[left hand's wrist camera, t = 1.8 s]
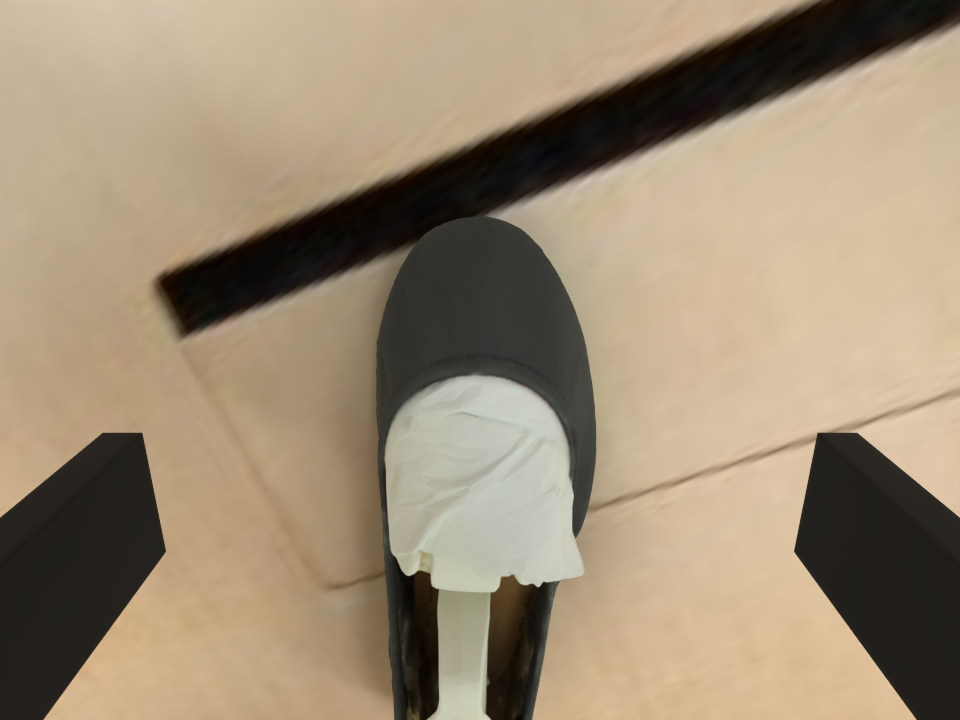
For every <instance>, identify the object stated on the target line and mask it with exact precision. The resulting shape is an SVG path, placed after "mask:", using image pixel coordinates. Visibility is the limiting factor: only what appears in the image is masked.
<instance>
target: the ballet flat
mask: <svg viewBox="0 0 960 720" xmlns="http://www.w3.org/2000/svg"><path fill="white" fill-rule="evenodd" d="M376 374H377V425H378V433H379V442H378V474H379V485H380V495H381V506H382V520H383V541H384V560H385V574H386V584H387V600H388V617H389V632H390V635H389V657H390V664H391V668H392V688H393V697H394V720H532V717H533V711H534V706H535V701H536V696H537V691H538V686H539V681H540V675H541V669H542V664H543V659H544V653H545V645H546V640H547V633H548V627H549V621H550V615H551V609H552V605H553V600H554V596H555V591H556V587H557V585H558V583H559V582H560V580H563V579H570V578H576V577H579V576H582V575H583V574H584V572H585V569H584V566H583V561H582V558H581V555H580V552H579V550H578V547H577V544H576V540H575V539H576V537H577V535H578V533H579V532H580V530H581V527H582V525H583V522H584V519H585V515H586V512H587V508H588V504H589V500H590V495H591V490H592V483H593V477H594V469H595V460H596V421H595V404H594V397H593V387H592V380H591V374H590V368H589V362H588V356H587V350H586V345H585V340H584V336H583V333H582V330H581V326H580V324H579V321H578V318H577V315H576V312H575V309H574V307H573V304H572V302H571V300H570V297H569V295H568V293H567V291H566V289H565V287H564V285H563V283H562V281H561V279H560V277H559V276H558V274H557V272H556V270H555V269H554V267H553V266H552V264H551V262H550V261H549V260H548V258H547V257H546V256H545V254H544V252H543V251H542V249H541V248H540V247H539V246H538V245H537V244H536V243H535V242H534V241H533V240H532V238H531V237H530V236H528V235H527V234H526V233H525V232H524V231H523V230H521V229H520V228H518V227H516V226H514V225H512V224H510V223H508V222H505V221H502V220H499V219H495V218H490V217H478V216H477V217H467V218H460V219H457V220H454V221H450V222H446V223H444V224H442V225H440V226H437V227H435V228H434V229H432V230H431V231H429V232H428V233H426V234H425V235H424V236H423V237H422V238H421V239H420V240H419V241H418V242H417V244H416V245H415V246H414V248H413V249H412V250H411V252H410V253H409V255H408V257H407V259H406V260H405V262H404V263H403V265H402V267H401V269H400V271H399V273H398V275H397V277H396V279H395V282H394V285H393V287H392V289H391V292H390V295H389V298H388V301H387V304H386V308H385V311H384V315H383V319H382V322H381V326H380V332H379V338H378V341H377V371H376Z"/></svg>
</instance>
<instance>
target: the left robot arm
mask: <svg viewBox="0 0 960 720" xmlns="http://www.w3.org/2000/svg"><path fill="white" fill-rule="evenodd" d="M165 552H166V549H165V544H164V539H163V534H162V529H161V524H160V519H159V514H158V509H157V504H156V499H155V494H154V489H153V484H152V479H151V474H150V469H149V464H148V459H147V454H146V449H145V444H144V439H143V434H142V433H102V434H101V435H100V436H98V437H97V438H96V439H95V440H94V441H92V442H91V443H90V444H89V445H88V446H86V447H85V448H84V449H83V450H82V451H80V452H79V453H78V454H77V455H76V456H74V457H73V458H72V459H71V460H69V461H68V462H67V463H66V464H65V465H63V466H62V467H61V468H60V469H59V470H57V471H56V472H55V473H54V474H53V475H51V476H50V477H49V478H48V479H46V480H45V481H44V482H43V483H42V484H40V485H39V486H38V487H37V488H36V489H34V490H33V491H32V492H31V493H30V494H28V495H27V496H26V497H25V498H24V499H22V500H21V501H20V502H19V503H17V504H16V505H15V506H14V507H13V508H11V509H10V510H9V511H8V512H7V513H5V514H4V515H3V516H2V517H1V518H0V720H43V719H44V718H45V717H46V715H47V714H48V713H49V711H50V710H51V708H52V707H53V706H54V704H55V703H56V702H57V700H58V699H59V698H60V696H61V695H62V693H63V692H64V691H65V689H66V688H67V687H68V685H69V684H70V682H71V681H72V680H73V678H74V677H75V676H76V674H77V673H78V671H79V670H80V669H81V667H82V666H83V665H84V663H85V662H86V661H87V659H88V658H89V656H90V655H91V654H92V652H93V651H94V650H95V648H96V647H97V645H98V644H99V643H100V641H101V640H102V639H103V637H104V636H105V634H106V633H107V632H108V630H109V629H110V628H111V626H112V625H113V623H114V622H115V621H116V619H117V618H118V617H119V615H120V614H121V613H122V611H123V610H124V608H125V607H126V606H127V604H128V603H129V602H130V600H131V599H132V597H133V596H134V595H135V593H136V592H137V591H138V589H139V588H140V586H141V585H142V584H143V582H144V581H145V580H146V578H147V577H148V576H149V574H150V573H151V571H152V570H153V569H154V567H155V566H156V565H157V563H158V562H159V560H160V559H161V558H162V556H163V555H164V554H165ZM794 552H795V554H796V555H797V556H798V558H799V559H800V560H801V562H802V563H803V565H804V566H805V567H806V569H807V570H808V571H809V573H810V574H811V576H812V577H813V578H814V580H815V581H816V582H817V584H818V585H819V586H820V588H821V589H822V591H823V592H824V593H825V595H826V596H827V597H828V599H829V600H830V602H831V603H832V604H833V606H834V607H835V608H836V610H837V611H838V613H839V614H840V615H841V617H842V618H843V619H844V621H845V622H846V623H847V625H848V626H849V628H850V629H851V630H852V632H853V633H854V634H855V636H856V637H857V639H858V640H859V641H860V643H861V644H862V645H863V647H864V648H865V650H866V651H867V652H868V654H869V655H870V656H871V658H872V659H873V661H874V662H875V663H876V665H877V666H878V667H879V669H880V670H881V671H882V673H883V674H884V676H885V677H886V678H887V680H888V681H889V682H890V684H891V685H892V687H893V688H894V689H895V691H896V692H897V693H898V695H899V696H900V698H901V699H902V700H903V702H904V703H905V704H906V706H907V707H908V708H909V710H910V711H911V713H912V714H913V715H914V717H915V718H916V719H917V720H960V518H959V517H958V516H957V515H956V514H955V513H953V512H952V511H951V510H950V509H949V508H947V507H946V506H945V505H944V504H943V503H941V502H940V501H939V500H938V499H936V498H935V497H934V496H933V495H932V494H930V493H929V492H928V491H927V490H926V489H924V488H923V487H922V486H921V485H920V484H918V483H917V482H916V481H915V480H914V479H912V478H911V477H910V476H909V475H907V474H906V473H905V472H904V471H903V470H901V469H900V468H899V467H898V466H897V465H895V464H894V463H893V462H892V461H891V460H889V459H888V458H887V457H886V456H884V455H883V454H882V453H881V452H880V451H878V450H877V449H876V448H875V447H874V446H872V445H871V444H870V443H869V442H868V441H866V440H865V439H864V438H863V437H862V436H860V435H859V434H858V433H818V434H817V439H816V444H815V449H814V454H813V459H812V464H811V469H810V474H809V479H808V484H807V489H806V494H805V499H804V504H803V509H802V514H801V519H800V524H799V529H798V534H797V539H796V544H795V549H794Z"/></svg>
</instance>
